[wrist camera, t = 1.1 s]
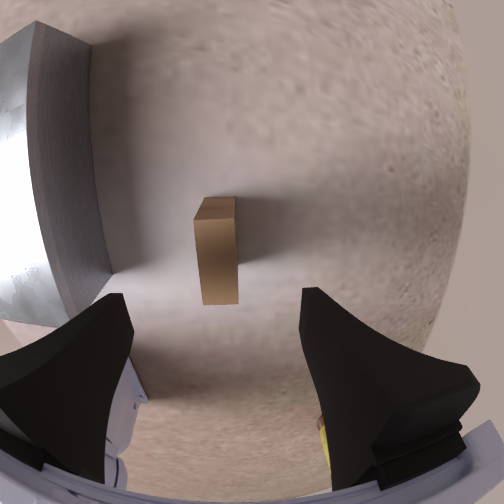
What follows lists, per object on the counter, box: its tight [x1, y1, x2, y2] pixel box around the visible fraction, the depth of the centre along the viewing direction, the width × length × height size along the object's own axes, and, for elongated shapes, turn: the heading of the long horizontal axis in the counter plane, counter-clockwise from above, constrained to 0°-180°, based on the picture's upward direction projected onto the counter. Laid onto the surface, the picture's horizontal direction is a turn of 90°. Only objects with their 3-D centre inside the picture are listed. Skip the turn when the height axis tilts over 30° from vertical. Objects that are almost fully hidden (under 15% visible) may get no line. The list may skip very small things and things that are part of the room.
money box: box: [0, 21, 113, 328], centre depth 13 cm, size 18×14×7 cm
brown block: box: [194, 197, 238, 305], centre depth 17 cm, size 5×2×5 cm, turn 1°
